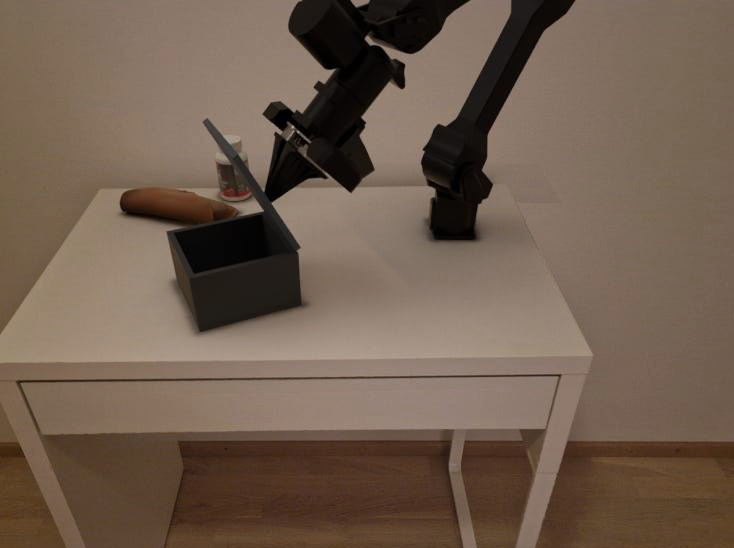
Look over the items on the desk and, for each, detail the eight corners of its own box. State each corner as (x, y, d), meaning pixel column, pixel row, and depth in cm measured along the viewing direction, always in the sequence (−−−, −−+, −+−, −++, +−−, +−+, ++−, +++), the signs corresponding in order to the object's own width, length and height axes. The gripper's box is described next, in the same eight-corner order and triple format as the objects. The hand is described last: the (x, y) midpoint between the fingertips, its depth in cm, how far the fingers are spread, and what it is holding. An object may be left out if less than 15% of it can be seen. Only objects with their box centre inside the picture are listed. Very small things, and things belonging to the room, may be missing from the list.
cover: (232, 158, 62) (238, 153, 62) (201, 121, 71) (207, 117, 71) (295, 251, 72) (301, 247, 72) (262, 209, 81) (267, 205, 81)
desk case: (199, 332, 73) (188, 278, 68) (177, 281, 82) (166, 231, 77) (301, 305, 77) (298, 253, 72) (269, 260, 86) (265, 210, 81)
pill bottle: (214, 196, 103) (205, 139, 96) (237, 186, 106) (230, 130, 100) (235, 205, 100) (227, 147, 94) (258, 194, 103) (252, 137, 97)
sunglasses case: (241, 207, 98) (227, 182, 92) (226, 243, 96) (210, 220, 90) (150, 191, 103) (130, 167, 97) (134, 226, 101) (112, 203, 95)
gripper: (426, 161, 68) (340, 265, 72) (356, 114, 81) (286, 204, 85) (367, 99, 61) (274, 219, 65) (300, 58, 74) (226, 159, 78)
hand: (267, 200), depth 73 cm, fingers closed, pressing on cover
